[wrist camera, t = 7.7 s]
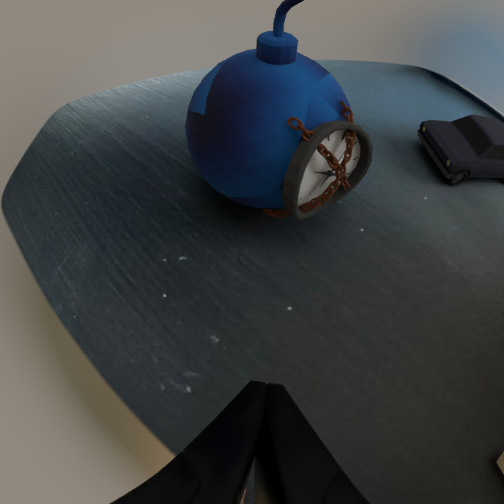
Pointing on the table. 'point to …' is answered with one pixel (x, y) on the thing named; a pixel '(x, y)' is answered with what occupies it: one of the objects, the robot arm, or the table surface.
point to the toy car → (465, 147)
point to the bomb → (276, 129)
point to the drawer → (501, 462)
